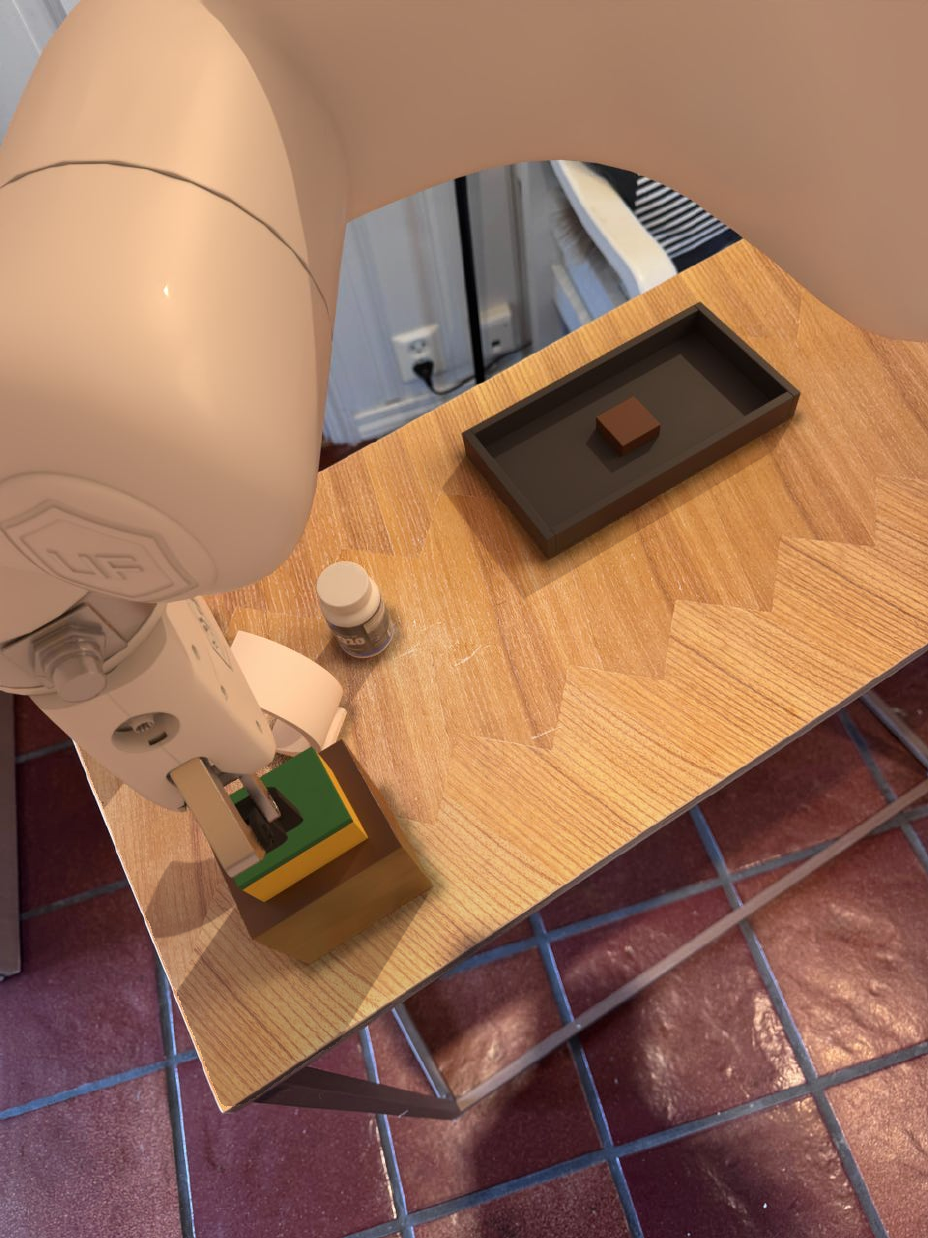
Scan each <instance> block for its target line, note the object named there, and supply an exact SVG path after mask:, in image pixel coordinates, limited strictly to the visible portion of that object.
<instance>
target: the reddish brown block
mask: <svg viewBox="0 0 928 1238" xmlns="http://www.w3.org/2000/svg"><path fill="white" fill-rule="evenodd" d="M660 426H661V425H660V423H659V422H658V421H657V420H656V419H655V418H654V417H653V416H652V415H651V414H650V413H649V412H648V411H647V410H646V409H645V408H644V407H643V406H642V405H641V403H640V402H639V401H638V400H637V399H636V398H635V397H634V396H633V397H631V398H629V399H627V400H625V401H624V402H622V403H620V404H618V405H617V406H615V407H613V408H611V409H610V410H608V411H606V412H604V413H602V414H601V415H599V416H597V417H596V428H597V430H598V431H599V432H600V433H601V434H602V435H603V436H604V437H605V438H606V440H607V441H608V442H609V443H610V444H611V445H612V446H613V447H614V448H615V449H616V451H617V452H618V453H619V454H620V455H621V456H624V455H626V454H628V453H629V452H631V451H633V450H635V449H636V448H638V447H640V446H642V445H643V444H645V443H647V442H649V441H650V440H652V439H654V438H656V437H657V436H659V435H660Z"/></svg>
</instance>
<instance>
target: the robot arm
mask: <svg viewBox="0 0 928 1238" xmlns="http://www.w3.org/2000/svg"><path fill="white" fill-rule="evenodd" d="M0 145H1V146H0V691H2V692H4V693H7V694H14V695H21V696H28V697H29V698H30V699H31V701H32V702H33V703H34V704H35V706H37V707H38V709H40V710H41V711H42V712H43V713H44V714H45V716H47V717H48V718H49V719H50V721H52V722H53V723H54V724H55V725H56V726H58V728H60V730H62V732H64V734H66V735H67V736H68V737H69V738H70V739H71V740H72V741H73V742H74V743H75V744H77V746H79V747H80V748H81V749H82V750H83V751H84V752H86V753H87V754H88V755H89V756H90V757H92V758H93V760H95V761H96V762H97V763H98V764H99V765H101V766H102V767H103V768H104V769H106V770H107V771H108V772H109V773H111V774H112V775H113V776H114V777H115V778H117V779H118V780H119V781H120V782H122V783H123V784H124V785H126V786H127V787H128V788H130V789H132V790H133V791H134V792H136V793H137V794H139V795H140V796H142V797H143V798H144V799H146V800H148V801H149V802H151V803H153V804H154V805H156V806H159V807H160V808H163V809H166V810H167V811H171V812H176V813H186V812H187V811H190V813H191V815H192V816H193V819H194V820H195V821H196V823H197V825H198V827H199V828H200V830H201V831H202V833H203V835H204V837H205V838H206V841H207V842H208V845H209V844H210V845H211V847H212V849H213V851H214V852H215V854H216V856H217V858H218V859H219V861H220V863H221V864H222V866H223V868H224V870H225V871H226V873H227V874H228V875H229V876H230V877H231V878H234V877H235V876H237V875H239V874H240V873H242V872H244V871H245V870H247V869H249V868H250V867H252V866H254V865H255V864H257V863H259V862H260V861H262V860H263V858H264V856H265V854H267V853H269V852H271V851H273V850H275V849H276V848H278V847H280V846H281V845H282V844H284V843H285V842H286V841H287V839H288V836H287V834H286V833H287V832H289V831H290V830H292V829H294V828H295V827H297V826H298V825H300V824H301V823H302V822H303V818H302V816H301V814H300V812H299V810H298V809H297V808H296V807H295V806H294V805H293V804H292V803H291V802H290V801H289V800H288V799H287V798H286V797H285V796H284V795H283V794H282V793H281V792H280V791H279V790H277V789H276V788H275V787H267V788H266V787H265V786H264V784H263V783H262V781H261V780H260V778H259V777H260V776H259V775H258V774H257V773H258V772H259V771H260V770H262V769H263V768H265V767H267V766H268V765H269V764H270V763H272V762H273V761H274V759H275V755H276V752H275V750H276V743H275V740H274V737H273V734H272V732H271V731H272V729H271V727H270V725H269V723H268V721H267V719H266V717H265V715H264V712H262V710H261V708H260V706H259V704H258V702H257V700H256V698H255V696H254V694H253V692H252V690H251V688H250V686H249V684H248V682H247V680H246V678H245V676H244V674H243V672H242V670H241V668H240V666H239V665H238V663H237V661H236V659H235V657H234V655H233V653H232V651H231V649H230V648H231V646H230V645H229V642H228V641H227V639H226V637H225V636H224V634H223V632H222V629H221V628H220V626H219V624H218V622H217V620H216V619H215V617H214V615H213V613H212V611H211V609H210V607H209V605H208V604H207V602H206V600H205V599H204V597H203V596H205V597H206V596H216V595H223V594H228V593H231V592H235V591H238V590H241V589H245V588H248V587H250V586H253V585H255V584H258V583H259V582H262V581H263V580H265V579H266V578H267V577H269V576H270V575H272V574H274V573H275V572H276V571H277V570H278V569H279V568H280V567H281V566H282V565H284V563H285V562H287V560H288V559H289V558H290V556H291V555H292V554H293V553H294V551H295V550H296V548H297V547H298V545H299V543H300V541H301V540H302V537H303V535H304V533H305V530H306V527H307V526H308V522H309V520H310V517H311V513H312V509H313V506H314V505H313V504H314V500H315V495H316V491H317V487H318V478H319V468H320V467H319V466H320V458H321V450H322V449H321V448H322V440H323V430H324V422H325V415H326V406H327V397H328V396H327V395H328V387H329V381H330V380H329V378H330V370H331V362H332V353H333V352H332V351H333V339H334V332H335V323H336V315H337V307H338V296H339V288H340V287H339V286H340V276H341V268H342V259H343V253H344V246H345V245H344V244H345V240H346V239H345V238H346V232H347V224H348V223H350V222H352V221H353V220H357V219H358V218H360V217H362V216H364V215H367V214H369V213H371V212H373V211H377V210H378V209H381V208H383V207H386V206H388V205H390V204H393V203H396V202H398V201H401V200H403V199H406V198H408V197H410V196H414V195H416V194H418V193H420V192H423V191H426V190H429V189H431V188H434V187H437V186H440V185H443V184H445V183H447V182H450V181H453V180H456V179H459V178H462V177H466V176H469V175H472V174H476V173H479V172H482V171H485V170H490V169H494V168H495V169H496V168H500V167H504V166H505V167H506V166H510V165H515V164H520V163H528V162H529V163H531V162H546V161H547V162H548V161H569V162H581V163H591V164H598V165H599V164H600V165H603V166H608V167H610V168H611V167H612V168H615V169H620V170H623V171H629V172H632V173H634V174H636V175H639V176H641V177H644V178H646V179H649V180H651V181H654V182H656V183H659V184H661V185H663V186H665V187H667V188H669V189H670V190H672V191H673V192H676V193H677V194H679V195H680V196H683V197H685V198H687V199H688V200H690V201H692V203H694V204H696V205H697V206H699V207H700V208H701V209H702V210H704V211H705V212H707V213H708V214H709V215H711V216H712V217H714V218H715V219H717V220H718V221H719V222H721V223H722V224H724V226H726V227H727V228H729V229H730V230H732V231H733V232H735V233H736V234H737V235H739V237H741V238H742V239H744V241H746V242H748V243H749V244H750V245H751V246H753V247H754V248H755V249H756V250H758V251H759V252H761V253H762V254H763V255H764V256H766V257H767V258H768V259H769V260H771V261H772V262H773V263H774V264H776V265H777V266H778V267H779V268H780V269H782V270H783V272H785V273H786V274H788V275H789V276H790V277H791V278H792V279H793V280H794V281H795V282H797V283H798V284H799V285H800V286H801V287H802V288H804V289H805V291H807V292H808V293H810V295H812V296H813V297H814V298H815V299H816V300H817V301H819V302H820V303H822V304H823V305H824V306H826V307H827V308H828V309H830V310H831V311H833V312H834V313H836V314H837V315H838V316H840V317H842V318H843V319H844V320H846V321H847V322H849V323H850V324H852V325H853V326H854V327H857V328H859V329H862V330H864V331H866V332H869V333H871V334H874V335H876V336H879V337H881V338H883V339H888V340H893V341H903V342H912V343H922V344H923V343H928V0H79V1H78V2H77V3H76V4H75V6H74V7H73V8H72V9H71V10H70V11H69V12H68V14H67V16H65V18H64V20H62V22H61V23H60V25H59V26H58V28H57V29H56V30H55V32H53V34H52V36H51V37H50V38H49V40H48V41H47V43H46V44H45V46H44V47H43V49H42V51H41V53H40V56H39V58H38V60H37V62H36V64H35V66H34V68H33V70H32V73H31V74H30V76H29V79H28V81H27V83H26V85H25V88H24V90H23V92H22V93H21V97H20V98H19V100H18V103H17V105H16V108H15V110H14V112H13V114H12V117H11V120H10V122H9V125H8V127H7V130H6V133H5V135H4V138H3V139H2V143H1V144H0ZM211 763H212V764H211ZM237 780H239V782H240V783H241V785H242V787H244V788H245V789H246V791H247V792H248V794H249V796H247V797H245V798H244V799H242V800H240V801H238V802H237V803H235V804H233V802H232V800H231V798H230V797H229V795H230V794H229V793H228V791H227V790H226V788H225V787H227V786H228V785H230V784H232V783H233V782H235V781H237ZM210 845H209V846H210ZM211 847H210V848H211ZM212 849H211V850H212Z"/></svg>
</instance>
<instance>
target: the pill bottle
mask: <svg viewBox="0 0 928 1238" xmlns="http://www.w3.org/2000/svg"><path fill="white" fill-rule="evenodd" d="M315 590H316V594H317V596H318V599H319V601H318V603H319V605H318V606H319V609H320V612H321V614H322V616H323V619H324V620H325V622H326V623H327V625H328V627H329V629H330V631H331V632H332V634H333V637H334V638H335V640H336V641H337V643H338V646H339V647H340V648H341V649H342V651H344V652H345V653H346V654H347V655H349V656H351V657H354V658H357V659H369V658H372V657H375V656H378V655H379V654H381V653H382V652H384V651H385V650H386V649H387V648H388V646H389V645H390V643H391V642H392V640H393V637H394V624H393V621H392V618H391V615H390V613H389V611H388V608H387V605H386V603H385V601H384V598H383V596H382V593H381V591H380V588H379V586H378V585H377V583H376V582H375V580H374V579H373V578H372V577H370V576H369V575H368V572H367V571H366V570H365V568H364V567H363V566H362V565H361V564H359V563H358V562H357V563H356V562H354V561H350V560H341V561H336V562H333V563H331V564H330V565H328V566H327V567H325V568H324V569H323V570H322V571H321V573H320V574H319V576H318V577H317V580H316V585H315Z"/></svg>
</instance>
